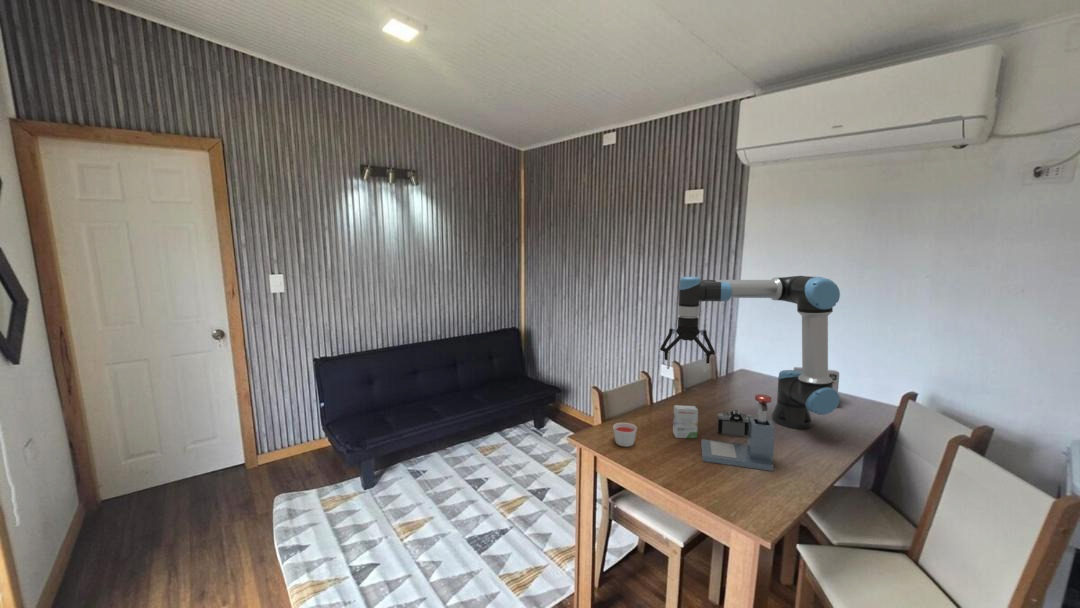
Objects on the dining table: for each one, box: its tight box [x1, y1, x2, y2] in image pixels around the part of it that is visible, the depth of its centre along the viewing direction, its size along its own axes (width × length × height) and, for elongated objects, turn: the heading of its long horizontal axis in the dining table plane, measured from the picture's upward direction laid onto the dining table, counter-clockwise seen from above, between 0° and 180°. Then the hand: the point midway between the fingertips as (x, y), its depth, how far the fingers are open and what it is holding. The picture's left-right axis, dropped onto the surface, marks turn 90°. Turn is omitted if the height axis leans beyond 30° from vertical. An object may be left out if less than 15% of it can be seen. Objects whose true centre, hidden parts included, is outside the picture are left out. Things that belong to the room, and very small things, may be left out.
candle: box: [612, 422, 638, 448], centre depth 163 cm, size 9×9×6 cm
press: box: [700, 417, 776, 472], centre depth 150 cm, size 22×14×14 cm, turn 71°
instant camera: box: [793, 366, 841, 406], centre depth 211 cm, size 21×21×15 cm
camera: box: [716, 409, 757, 438], centre depth 171 cm, size 16×9×10 cm, turn 70°
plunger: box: [754, 393, 772, 425], centre depth 147 cm, size 5×9×15 cm, turn 161°
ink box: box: [672, 404, 699, 439], centre depth 168 cm, size 9×5×12 cm, turn 84°
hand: (686, 369), depth 166 cm, fingers open, 13 cm apart
